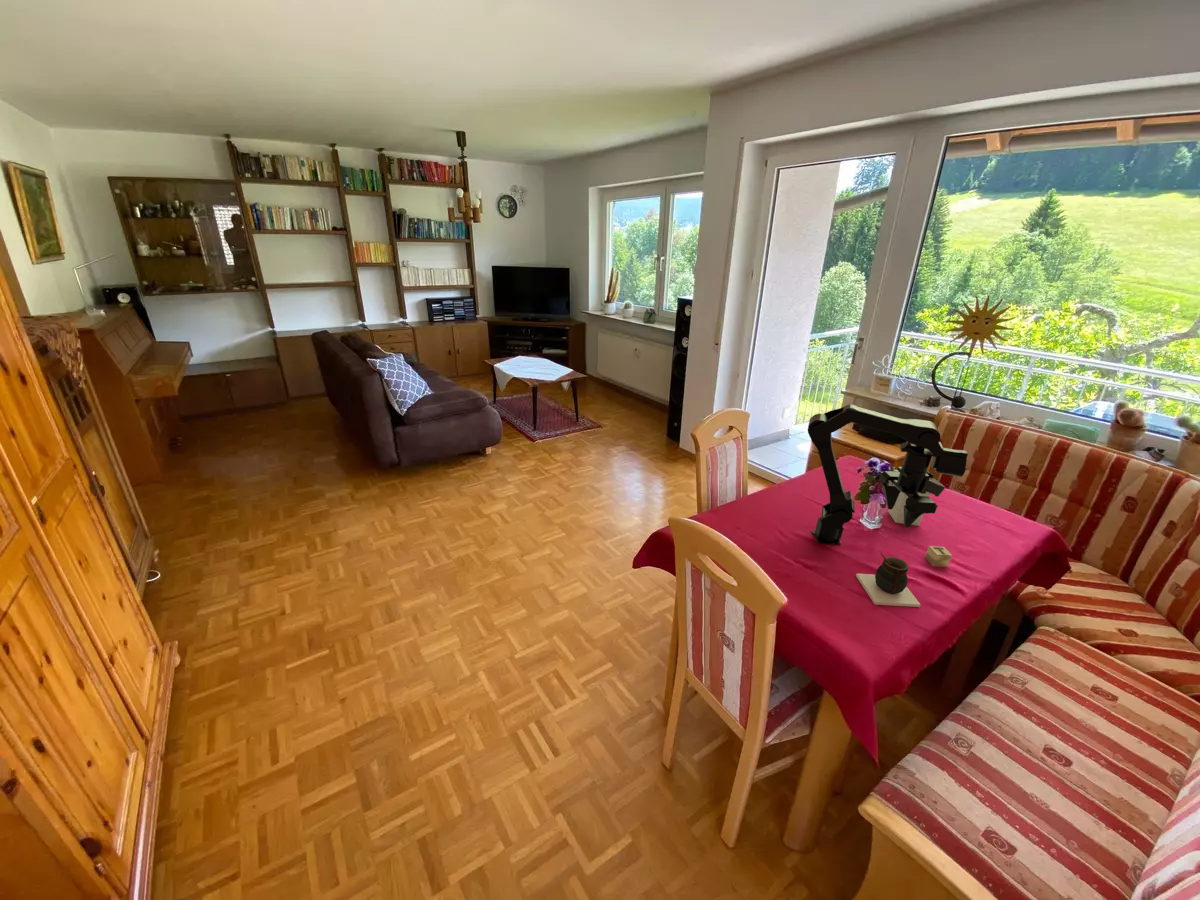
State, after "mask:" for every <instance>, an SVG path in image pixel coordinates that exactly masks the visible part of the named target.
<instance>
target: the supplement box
mask: <svg viewBox="0 0 1200 900" xmlns="http://www.w3.org/2000/svg"><path fill="white" fill-rule="evenodd" d="M918 495H919V496H928V497H929V498H930V496H931V493H929V492H927V491H926V494H921V493H918ZM906 498H908V496H907V495H906V494H905V493H902V492H900V494H899V496H898V498H897V500H896V503H895V505H894V507H893V509H888V514H889V515H890V516H891V518H892V520H893V521H894V523H896V524H904V505H906V503H905V501H906ZM923 517H924V514H922V515H920V516H919V517H918V518H917V519H916V520H915V521H914V522H913V523H912V524H911V525H910V526H918V527H919V526H920V525H921V521H922V519H923Z"/></svg>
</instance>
